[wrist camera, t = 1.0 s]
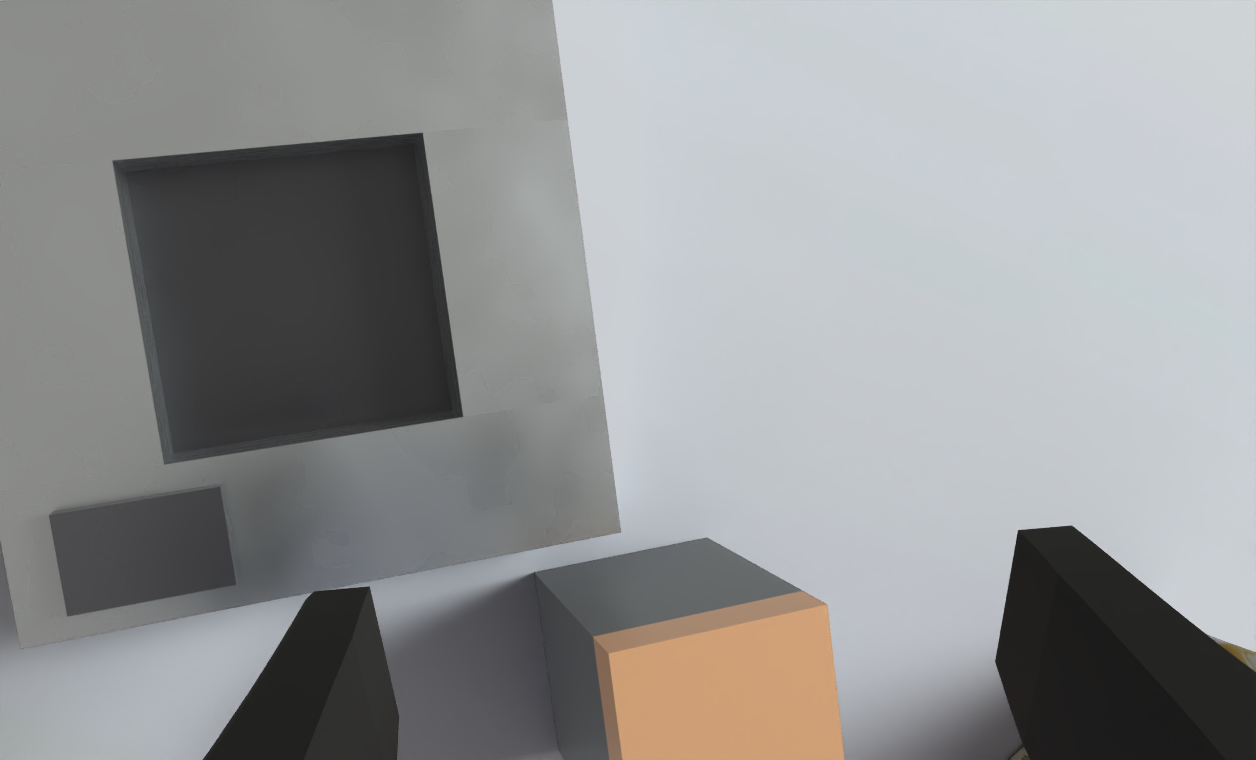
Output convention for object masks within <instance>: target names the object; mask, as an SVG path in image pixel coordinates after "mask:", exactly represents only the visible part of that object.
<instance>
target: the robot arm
mask: <svg viewBox="0 0 1256 760" xmlns="http://www.w3.org/2000/svg"><path fill="white" fill-rule="evenodd" d="M995 662H996V666H997V669H998V672H999V675H1000V678H1001V681H1002V684H1003V687H1004V690H1005V693H1006V697H1007V700H1008V703H1009V706H1010V709H1011V712H1012V715H1013V717H1014V720H1015V723H1016V726H1017V729H1018V732H1019V734H1020V737H1021V740H1022V743H1023V746H1024V748H1025V750H1026V752H1027V754H1028V756H1029V758H1030V760H1256V672H1255V671H1254V670H1252V669H1251V668H1250V667H1248V666H1247V665H1246V664H1244V663H1243V662H1242V661H1240V660H1239V659H1238V658H1236V657H1235V656H1234V655H1232V654H1231V653H1230V652H1228V651H1227V650H1226V649H1225V648H1223V647H1222V646H1221V645H1219V644H1218V643H1217V642H1215V641H1214V640H1213V639H1212V638H1210V637H1209V636H1208V635H1207V634H1205V633H1204V632H1203V631H1201V630H1200V629H1199V628H1198V627H1196V626H1195V625H1194V624H1192V623H1191V622H1190V621H1189V620H1187V619H1186V618H1185V617H1184V616H1182V615H1181V614H1180V613H1179V612H1177V611H1176V610H1175V609H1174V608H1172V607H1171V606H1170V605H1169V604H1168V603H1166V602H1165V601H1164V600H1163V599H1161V598H1160V597H1159V596H1158V595H1157V594H1155V593H1154V592H1153V591H1152V590H1150V589H1149V588H1148V587H1147V586H1146V585H1144V584H1143V583H1142V582H1141V581H1139V580H1138V579H1137V578H1136V577H1135V576H1133V575H1132V574H1131V573H1130V572H1128V571H1127V570H1126V569H1125V568H1124V567H1122V566H1121V565H1120V564H1119V563H1118V562H1116V561H1115V560H1114V559H1113V558H1112V557H1110V556H1109V555H1108V554H1107V553H1105V552H1104V551H1103V550H1102V549H1101V548H1099V547H1098V546H1097V545H1096V544H1094V543H1093V542H1092V541H1091V540H1089V539H1088V538H1087V537H1086V536H1084V535H1083V534H1082V533H1081V532H1079V531H1078V530H1077V529H1076V528H1074V527H1073V526H1062V527H1050V528H1039V529H1027V530H1018V534H1017V539H1016V545H1015V551H1014V557H1013V562H1012V568H1011V574H1010V580H1009V585H1008V591H1007V597H1006V603H1005V608H1004V614H1003V620H1002V626H1001V631H1000V637H999V643H998V649H997V654H996V660H995ZM398 724H399V714H398V710H397V705H396V701H395V697H394V692H393V688H392V683H391V679H390V674H389V670H388V666H387V661H386V657H385V652H384V648H383V643H382V639H381V635H380V630H379V626H378V621H377V617H376V612H375V608H374V604H373V599H372V595H371V590H370V587H359V588H348V589H336V590H325V591H314V592H313V593H312V594H311V595H310V596H309V597H308V598H307V599H306V600H305V602H304V604H303V605H302V607H301V609H300V610H299V612H298V614H297V616H296V617H295V619H294V621H293V622H292V624H291V626H290V627H289V629H288V631H287V632H286V634H285V636H284V637H283V639H282V641H281V642H280V644H279V646H278V647H277V649H276V651H275V652H274V654H273V655H272V657H271V659H270V660H269V662H268V663H267V665H266V667H265V668H264V670H263V671H262V673H261V674H260V676H259V678H258V679H257V681H256V682H255V684H254V685H253V687H252V688H251V690H250V692H249V693H248V695H247V696H246V698H245V699H244V701H243V702H242V703H241V705H240V706H239V708H238V709H237V711H236V712H235V714H234V715H233V717H232V718H231V720H230V721H229V723H228V724H227V726H226V727H225V728H224V730H223V731H222V733H221V734H220V736H219V737H218V739H217V740H216V742H215V743H214V745H213V746H212V747H211V749H210V750H209V752H208V753H207V755H206V756H205V757H204V759H203V760H397V745H398Z"/></svg>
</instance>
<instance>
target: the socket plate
mask: <svg viewBox="0 0 1256 760" xmlns="http://www.w3.org/2000/svg"><path fill="white" fill-rule="evenodd" d="M620 532H621V528H620V521H619V513H618V505H617V497H616V490H615V482H614V474H613V467H612V459H611V451H610V443H609V436H608V428H607V420H606V412H605V405H604V397H603V389H602V382H601V374H600V366H599V358H598V351H597V343H596V335H595V328H594V320H593V312H592V304H591V297H590V289H589V281H588V274H587V266H586V258H585V250H584V243H583V235H582V227H581V220H580V212H579V204H578V196H577V189H576V181H575V173H574V166H573V158H572V150H571V142H570V135H569V127H568V119H567V112H566V104H565V96H564V88H563V81H562V73H561V65H560V58H559V50H558V42H557V34H556V27H555V19H554V11H553V4H552V0H0V542H1V547H2V553H3V558H4V563H5V569H6V574H7V579H8V585H9V590H10V596H11V601H12V606H13V612H14V617H15V622H16V628H17V633H18V638H19V644H20V649H24V648H29V647H34V646H39V645H44V644H49V643H55V642H60V641H65V640H70V639H75V638H80V637H85V636H91V635H96V634H101V633H106V632H111V631H116V630H121V629H127V628H132V627H137V626H142V625H147V624H152V623H157V622H162V621H168V620H173V619H178V618H183V617H188V616H193V615H198V614H204V613H209V612H214V611H219V610H224V609H229V608H234V607H240V606H245V605H250V604H255V603H260V602H265V601H270V600H276V599H281V598H286V597H291V596H296V595H301V594H306V593H311V592H314V591H322V590H327V589H332V588H337V587H342V586H347V585H353V584H358V583H363V582H368V581H373V580H378V579H383V578H389V577H394V576H399V575H404V574H409V573H414V572H419V571H425V570H430V569H435V568H440V567H445V566H450V565H455V564H461V563H466V562H471V561H476V560H481V559H486V558H491V557H496V556H502V555H507V554H512V553H517V552H522V551H527V550H532V549H538V548H543V547H548V546H553V545H558V544H563V543H568V542H574V541H579V540H584V539H589V538H594V537H599V536H604V535H610V534H615V533H620Z"/></svg>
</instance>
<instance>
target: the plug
mask: <svg viewBox="0 0 1256 760" xmlns="http://www.w3.org/2000/svg"><path fill="white" fill-rule="evenodd" d="M534 576H535V583H536V590H537V598H538V605H539V612H540V619H541V627H542V634H543V641H544V648H545V656H546V663H547V670H548V677H549V685H550V692H551V699H552V706H553V714H554V721H555V728H556V735H557V743H558V750H559V751H560V753H561V755H562V756H563V758H564V760H845V759H844V750H843V741H842V732H841V723H840V714H839V705H838V696H837V687H836V678H835V669H834V660H833V651H832V642H831V633H830V624H829V615H828V606H827V604H826V603H824V602H822V601H820V600H818V599H817V598H815V597H813V596H811V595H809V594H808V593H806V592H804V591H802V590H800V589H799V588H797V587H795V586H793V585H791V584H790V583H788V582H786V581H784V580H782V579H781V578H779V577H777V576H775V575H773V574H772V573H770V572H768V571H766V570H764V569H763V568H761V567H759V566H757V565H756V564H754V563H752V562H750V561H748V560H747V559H745V558H743V557H741V556H739V555H738V554H736V553H734V552H732V551H730V550H729V549H727V548H725V547H723V546H721V545H720V544H718V543H716V542H714V541H712V540H711V539H709V538H703V539H698V540H693V541H688V542H683V543H678V544H673V545H668V546H663V547H658V548H653V549H648V550H643V551H638V552H633V553H628V554H623V555H618V556H613V557H608V558H603V559H598V560H593V561H588V562H583V563H578V564H573V565H568V566H563V567H558V568H553V569H548V570H543V571H538V572H534Z"/></svg>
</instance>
